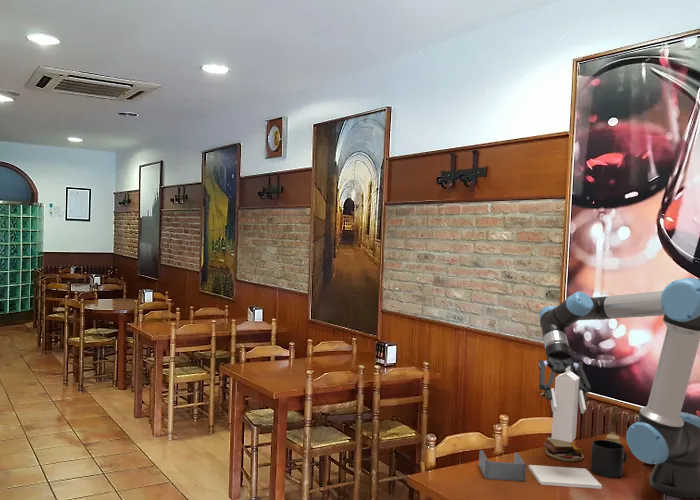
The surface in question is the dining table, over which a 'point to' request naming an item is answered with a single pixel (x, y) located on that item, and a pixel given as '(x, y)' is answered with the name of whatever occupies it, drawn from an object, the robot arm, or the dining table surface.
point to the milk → (565, 406)
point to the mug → (607, 458)
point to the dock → (502, 468)
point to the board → (564, 476)
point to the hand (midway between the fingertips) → (569, 410)
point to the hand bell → (613, 426)
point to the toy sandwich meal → (562, 450)
